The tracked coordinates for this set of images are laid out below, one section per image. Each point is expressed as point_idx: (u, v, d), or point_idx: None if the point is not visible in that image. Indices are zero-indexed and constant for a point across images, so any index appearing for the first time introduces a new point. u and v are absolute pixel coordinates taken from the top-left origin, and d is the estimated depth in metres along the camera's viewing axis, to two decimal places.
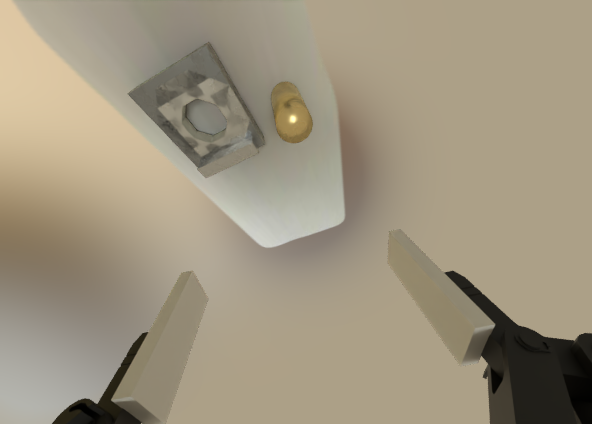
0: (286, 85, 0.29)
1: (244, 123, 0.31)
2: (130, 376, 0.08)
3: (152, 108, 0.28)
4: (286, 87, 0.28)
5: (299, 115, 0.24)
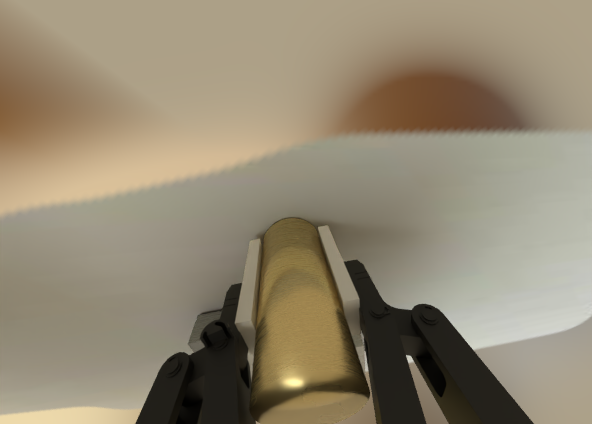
0: (262, 254, 0.14)
1: None
2: (243, 308, 0.10)
3: None
4: None
5: (281, 397, 0.07)
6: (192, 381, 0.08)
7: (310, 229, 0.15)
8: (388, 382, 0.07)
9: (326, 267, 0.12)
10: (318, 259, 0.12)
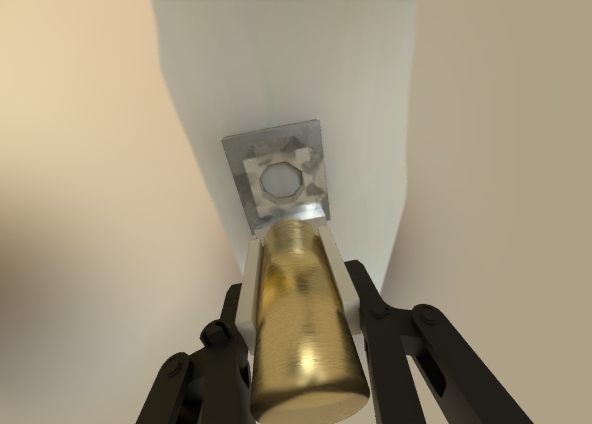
0: None
1: (320, 195, 0.29)
2: (243, 308, 0.10)
3: (237, 158, 0.26)
4: None
5: (281, 396, 0.07)
6: (192, 381, 0.08)
7: (310, 229, 0.15)
8: (388, 382, 0.07)
9: (326, 267, 0.12)
10: (318, 260, 0.12)
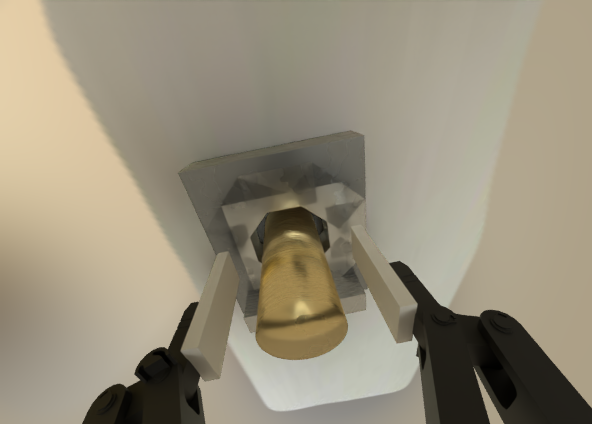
0: (264, 233, 0.17)
1: None
2: (192, 333, 0.09)
3: (211, 204, 0.14)
4: None
5: (279, 324, 0.09)
6: (126, 417, 0.08)
7: (305, 212, 0.17)
8: (451, 393, 0.06)
9: (318, 240, 0.14)
10: (311, 234, 0.14)
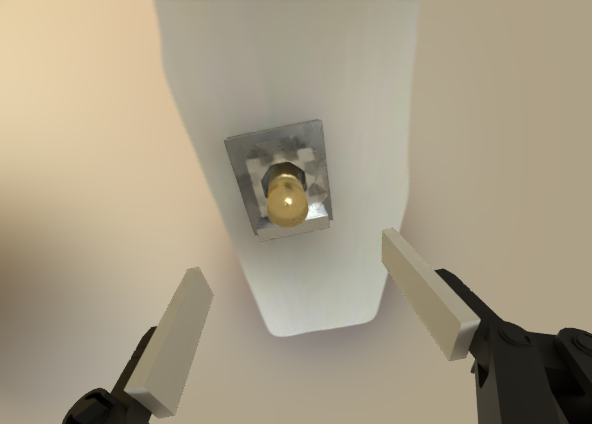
0: None
1: (322, 195, 0.29)
2: (141, 367, 0.08)
3: (240, 159, 0.26)
4: None
5: (277, 202, 0.21)
6: None
7: (293, 168, 0.29)
8: (521, 419, 0.06)
9: (298, 179, 0.26)
10: (295, 175, 0.26)
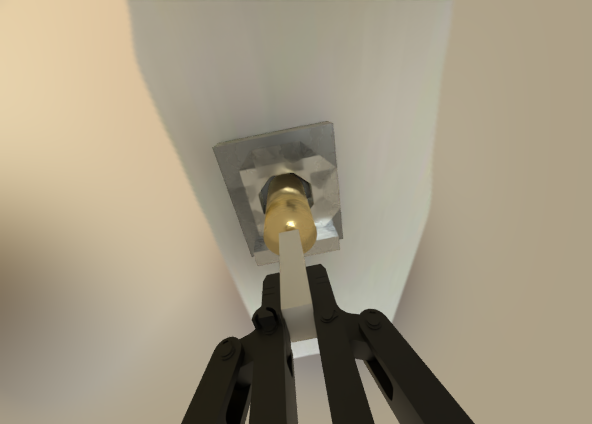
0: None
1: (332, 210, 0.25)
2: (286, 296, 0.10)
3: (233, 170, 0.21)
4: (267, 197, 0.23)
5: (277, 227, 0.17)
6: (245, 364, 0.09)
7: (297, 179, 0.24)
8: (338, 386, 0.07)
9: (303, 193, 0.21)
10: (299, 189, 0.21)
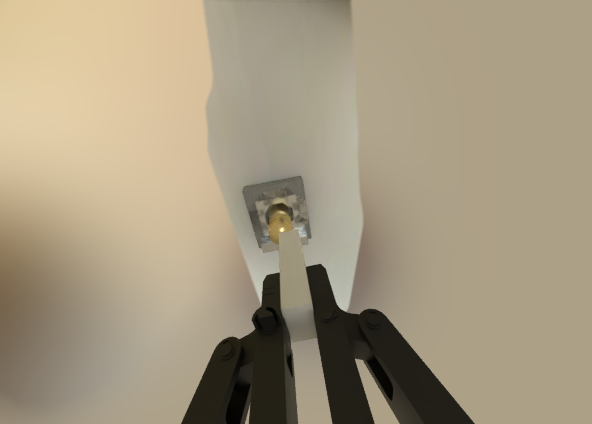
0: (269, 213, 0.44)
1: (304, 222, 0.45)
2: (286, 296, 0.10)
3: (251, 201, 0.42)
4: (269, 215, 0.44)
5: (275, 231, 0.37)
6: (245, 364, 0.09)
7: (285, 205, 0.45)
8: (339, 386, 0.07)
9: (288, 214, 0.42)
10: (285, 211, 0.42)
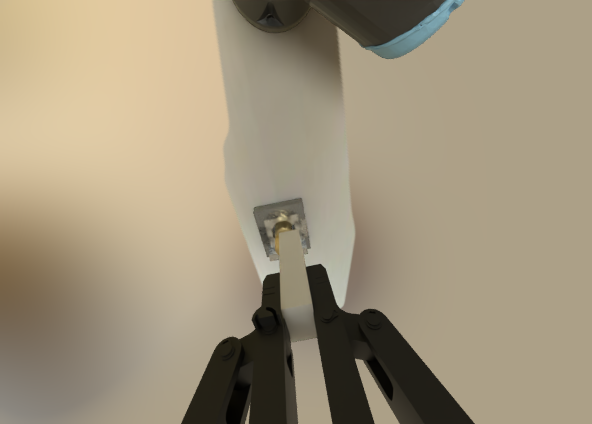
0: (275, 228, 0.53)
1: (304, 236, 0.54)
2: (286, 296, 0.10)
3: (261, 220, 0.51)
4: (275, 231, 0.53)
5: None
6: (245, 364, 0.09)
7: None
8: (339, 386, 0.07)
9: (290, 230, 0.51)
10: (288, 228, 0.51)
